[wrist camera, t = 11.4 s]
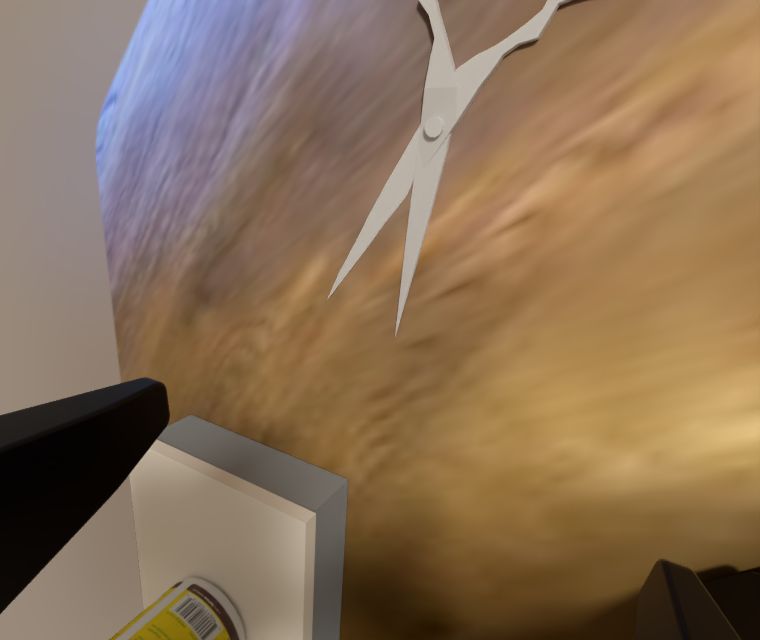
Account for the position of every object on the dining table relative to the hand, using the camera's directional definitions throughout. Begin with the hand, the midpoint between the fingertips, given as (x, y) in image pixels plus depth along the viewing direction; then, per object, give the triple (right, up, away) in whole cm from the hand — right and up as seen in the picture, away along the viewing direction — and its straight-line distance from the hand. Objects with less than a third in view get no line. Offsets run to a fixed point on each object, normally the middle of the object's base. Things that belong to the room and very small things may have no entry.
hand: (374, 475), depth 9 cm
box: (-7, -13, +23) cm, 28 cm away
